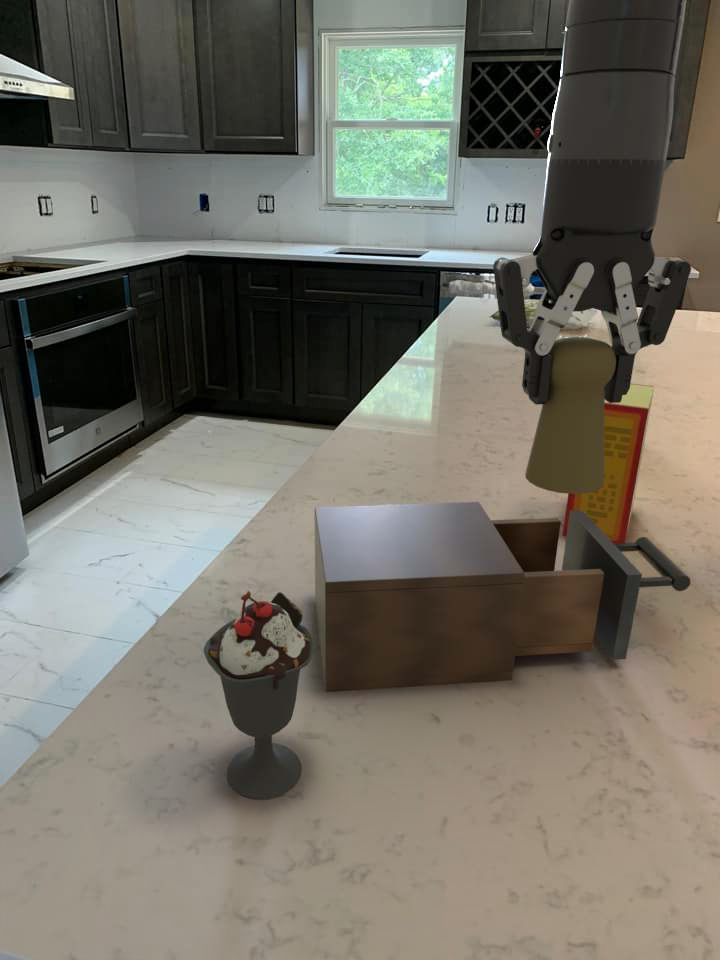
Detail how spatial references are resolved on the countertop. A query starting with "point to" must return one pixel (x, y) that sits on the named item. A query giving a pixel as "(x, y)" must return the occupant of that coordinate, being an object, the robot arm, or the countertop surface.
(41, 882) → the countertop surface
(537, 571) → the drawer
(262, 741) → the sundae
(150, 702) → the countertop surface
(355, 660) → the cabinet
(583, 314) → the frozen beans
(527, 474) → the cork
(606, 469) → the baking soda box
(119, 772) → the countertop surface
